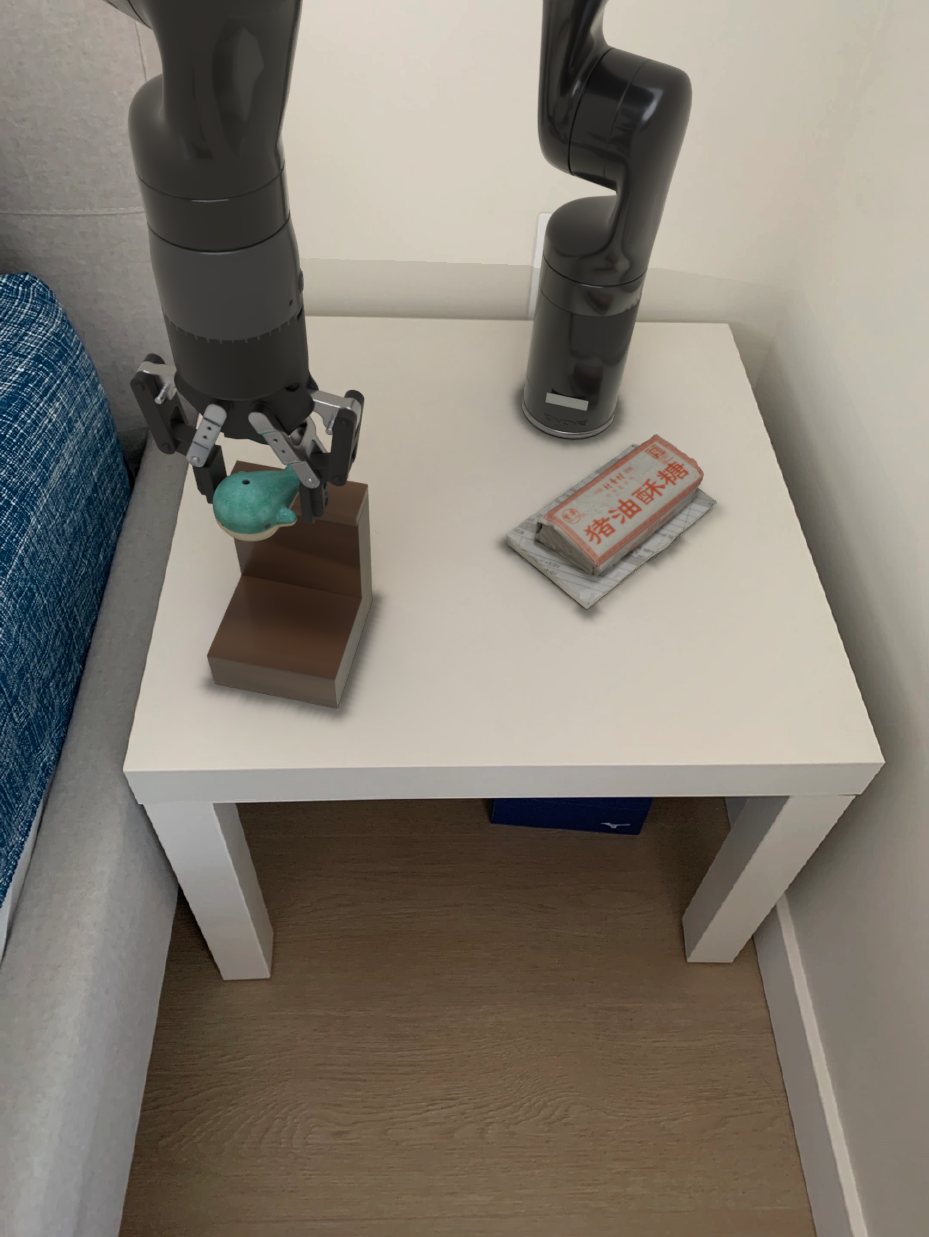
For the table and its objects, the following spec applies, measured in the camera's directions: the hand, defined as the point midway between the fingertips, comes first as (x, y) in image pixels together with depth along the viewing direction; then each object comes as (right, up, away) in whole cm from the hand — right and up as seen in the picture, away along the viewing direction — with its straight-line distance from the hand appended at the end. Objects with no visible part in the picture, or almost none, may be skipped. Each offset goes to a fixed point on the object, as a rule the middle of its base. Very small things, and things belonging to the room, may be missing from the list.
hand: (265, 504), depth 66 cm
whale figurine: (0, -1, +1) cm, 1 cm away
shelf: (0, -9, +14) cm, 17 cm away
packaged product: (+27, 0, +23) cm, 36 cm away
